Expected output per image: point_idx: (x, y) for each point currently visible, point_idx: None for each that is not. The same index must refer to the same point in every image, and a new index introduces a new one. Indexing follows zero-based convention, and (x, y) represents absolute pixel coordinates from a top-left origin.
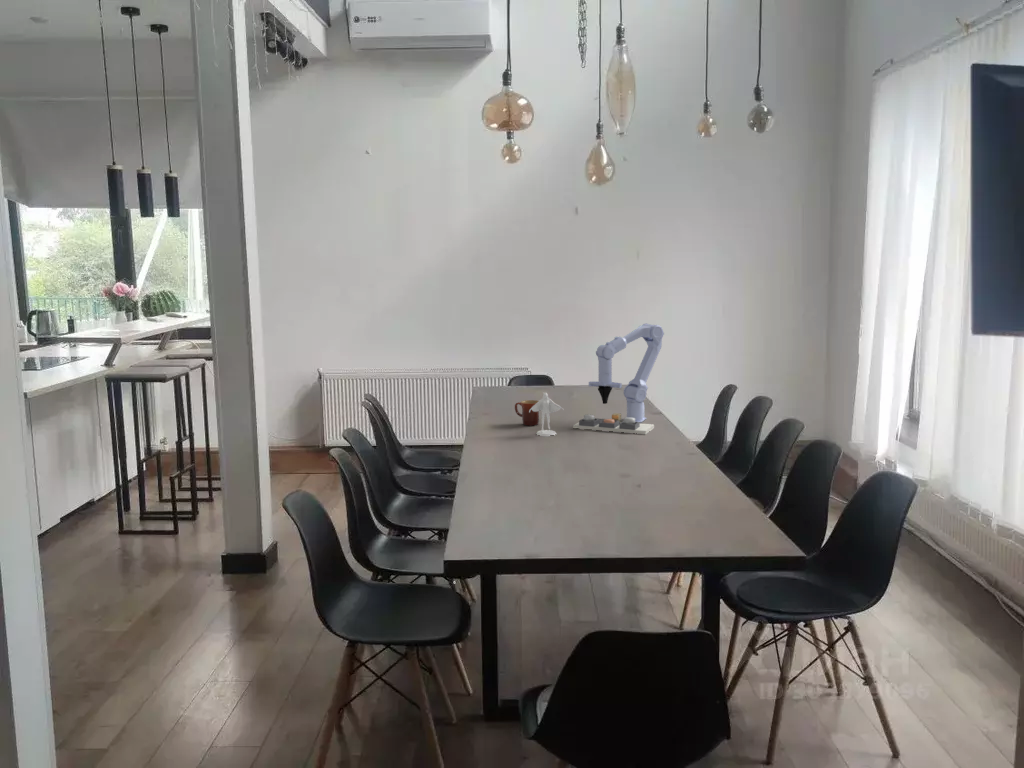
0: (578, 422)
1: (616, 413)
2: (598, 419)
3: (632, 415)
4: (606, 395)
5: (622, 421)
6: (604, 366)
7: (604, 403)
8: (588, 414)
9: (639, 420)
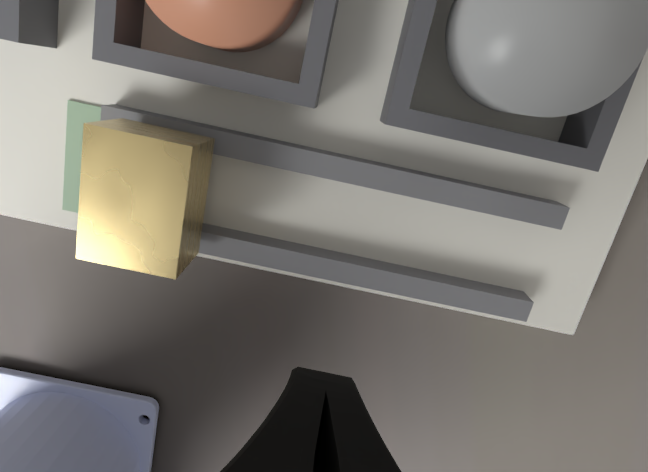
0: (644, 149)
1: (145, 261)
2: (392, 92)
3: (33, 431)
4: (237, 469)
5: None
6: None
7: (320, 371)
8: (571, 107)
9: (2, 407)
